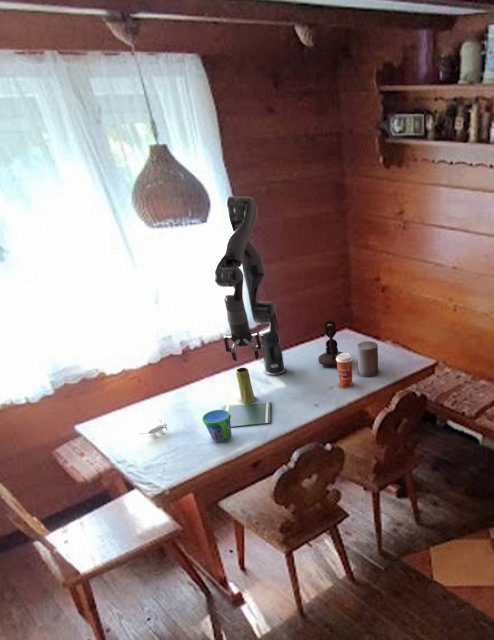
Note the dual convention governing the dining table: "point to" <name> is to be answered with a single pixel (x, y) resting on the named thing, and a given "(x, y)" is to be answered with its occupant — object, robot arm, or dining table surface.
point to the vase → (245, 385)
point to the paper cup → (345, 369)
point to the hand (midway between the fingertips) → (246, 359)
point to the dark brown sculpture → (330, 346)
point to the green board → (249, 414)
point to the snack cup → (218, 425)
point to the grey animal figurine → (157, 428)
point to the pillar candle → (368, 358)
